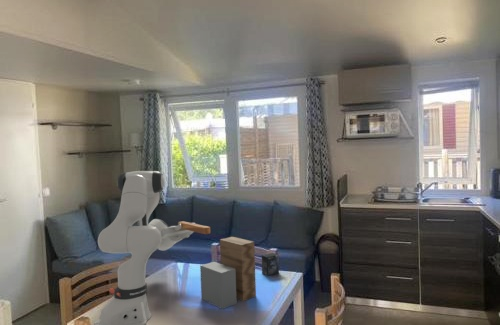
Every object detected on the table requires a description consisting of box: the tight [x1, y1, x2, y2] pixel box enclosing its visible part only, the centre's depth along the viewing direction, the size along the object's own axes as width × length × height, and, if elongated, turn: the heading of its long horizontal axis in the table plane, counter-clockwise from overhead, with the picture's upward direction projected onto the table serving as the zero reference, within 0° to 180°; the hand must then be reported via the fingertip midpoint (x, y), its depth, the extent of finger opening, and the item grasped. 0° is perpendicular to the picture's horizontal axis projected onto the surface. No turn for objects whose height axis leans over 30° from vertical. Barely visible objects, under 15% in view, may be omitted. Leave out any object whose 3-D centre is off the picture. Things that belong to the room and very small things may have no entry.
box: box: [261, 252, 280, 277], centre depth 216 cm, size 8×6×11 cm
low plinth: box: [199, 261, 237, 310], centre depth 179 cm, size 8×16×16 cm, turn 42°
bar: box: [177, 220, 211, 235], centre depth 195 cm, size 3×24×3 cm, turn 42°
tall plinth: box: [219, 236, 257, 302], centre depth 187 cm, size 8×16×26 cm, turn 42°
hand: (185, 224), depth 201 cm, fingers closed on bar, 3 cm apart
